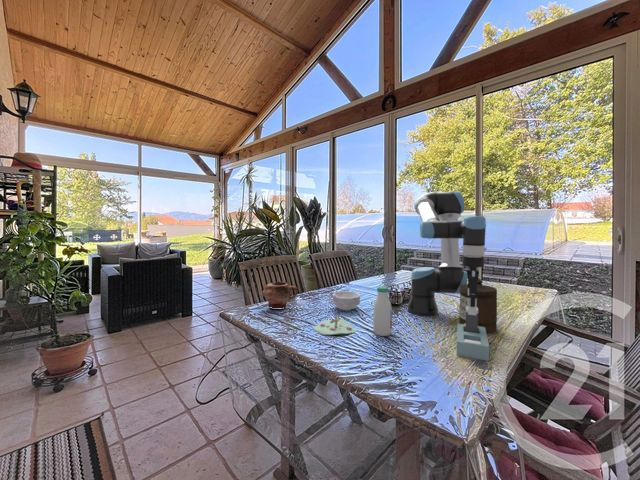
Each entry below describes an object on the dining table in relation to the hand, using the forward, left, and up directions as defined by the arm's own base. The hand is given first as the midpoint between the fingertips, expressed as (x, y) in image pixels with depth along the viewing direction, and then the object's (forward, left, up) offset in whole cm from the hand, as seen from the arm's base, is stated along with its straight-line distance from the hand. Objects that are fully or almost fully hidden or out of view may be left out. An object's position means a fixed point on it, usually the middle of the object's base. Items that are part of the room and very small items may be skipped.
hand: (471, 309), depth 113 cm
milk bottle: (-34, -6, -13) cm, 37 cm away
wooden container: (+3, +19, -13) cm, 23 cm away
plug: (0, 0, -12) cm, 12 cm away
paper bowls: (-61, +21, -13) cm, 66 cm away
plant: (-56, -6, -14) cm, 58 cm away
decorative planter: (-95, +6, -13) cm, 96 cm away
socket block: (0, -5, -13) cm, 14 cm away
